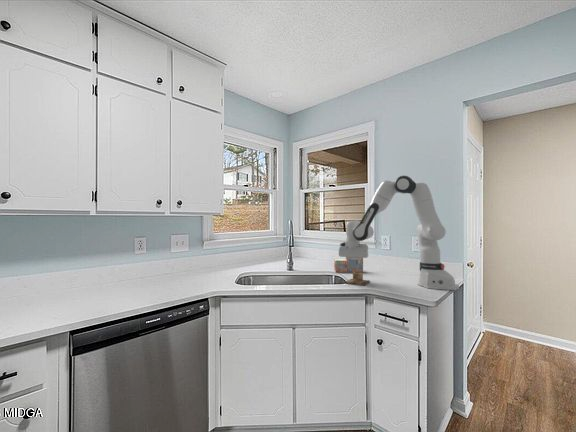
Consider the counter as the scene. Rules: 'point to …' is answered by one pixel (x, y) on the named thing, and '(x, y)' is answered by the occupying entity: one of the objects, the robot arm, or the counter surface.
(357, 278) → the oak block
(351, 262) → the slate block
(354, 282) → the baseplate
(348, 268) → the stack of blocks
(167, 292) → the counter surface
